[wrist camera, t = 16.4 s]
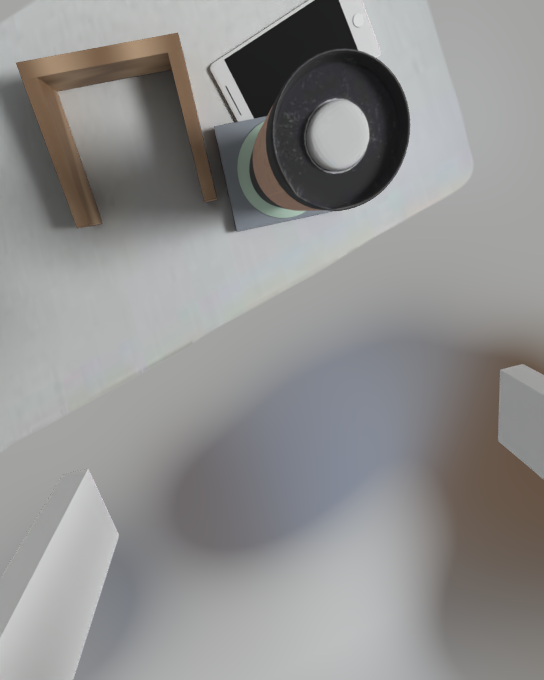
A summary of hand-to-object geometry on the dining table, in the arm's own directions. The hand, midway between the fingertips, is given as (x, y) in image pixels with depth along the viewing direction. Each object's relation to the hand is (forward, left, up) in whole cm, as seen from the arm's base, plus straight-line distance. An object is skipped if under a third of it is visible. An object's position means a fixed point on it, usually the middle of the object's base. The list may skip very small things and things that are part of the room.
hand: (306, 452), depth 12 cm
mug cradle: (-8, +15, -33) cm, 37 cm away
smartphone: (+9, +19, -33) cm, 40 cm away
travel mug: (+6, +10, -31) cm, 34 cm away
